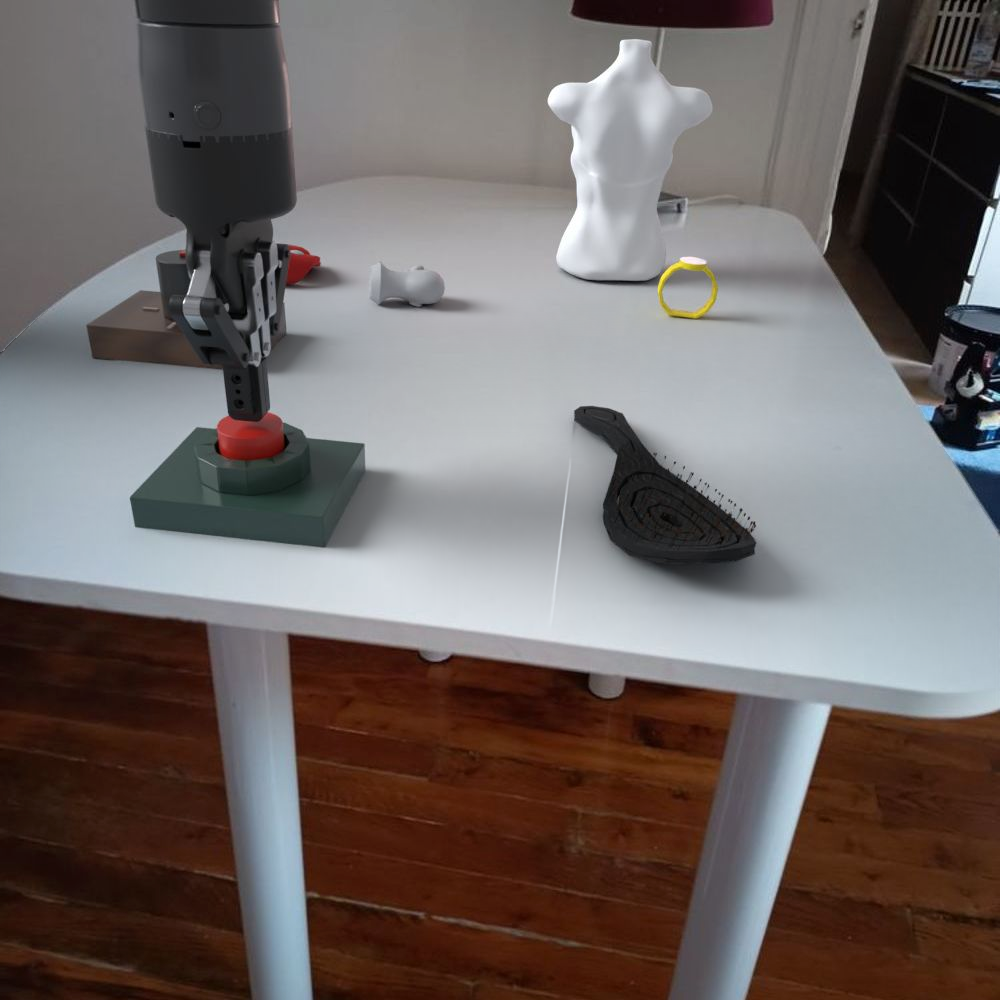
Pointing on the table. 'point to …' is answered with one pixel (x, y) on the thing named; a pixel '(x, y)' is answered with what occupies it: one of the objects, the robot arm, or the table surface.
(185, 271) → the dimmer knob
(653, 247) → the torso sculpture
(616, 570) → the table surface
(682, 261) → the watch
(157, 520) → the switch block
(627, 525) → the hairbrush
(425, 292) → the pale two-lobed sculpture
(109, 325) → the dimmer panel
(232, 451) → the button
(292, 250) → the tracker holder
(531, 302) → the table surface
